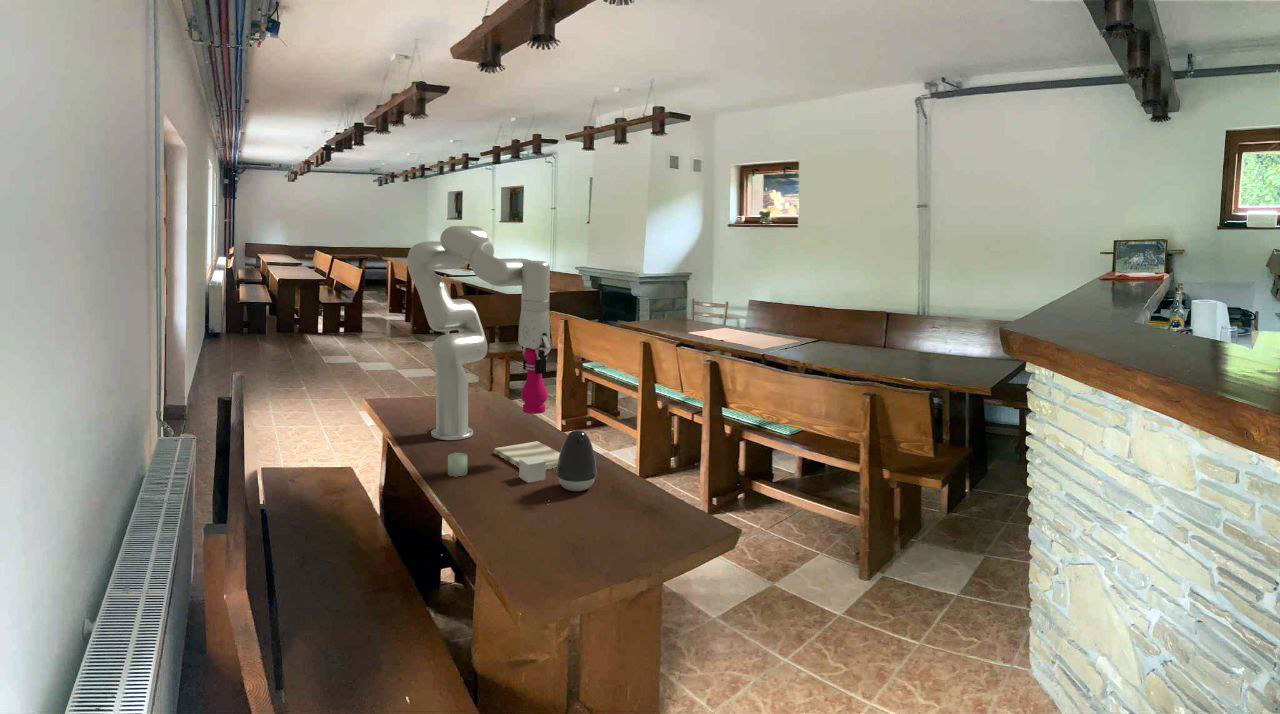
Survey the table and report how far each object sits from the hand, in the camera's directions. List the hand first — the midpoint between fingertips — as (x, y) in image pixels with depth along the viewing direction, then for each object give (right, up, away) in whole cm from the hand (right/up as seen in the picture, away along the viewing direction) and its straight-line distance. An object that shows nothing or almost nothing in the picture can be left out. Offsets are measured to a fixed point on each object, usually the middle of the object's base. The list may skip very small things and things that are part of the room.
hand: (534, 370), depth 204 cm
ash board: (-1, -25, +5) cm, 25 cm away
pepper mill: (0, -12, +2) cm, 12 cm away
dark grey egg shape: (+13, -30, -17) cm, 37 cm away
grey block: (+1, -28, -11) cm, 30 cm away
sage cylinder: (-19, -27, -10) cm, 34 cm away
